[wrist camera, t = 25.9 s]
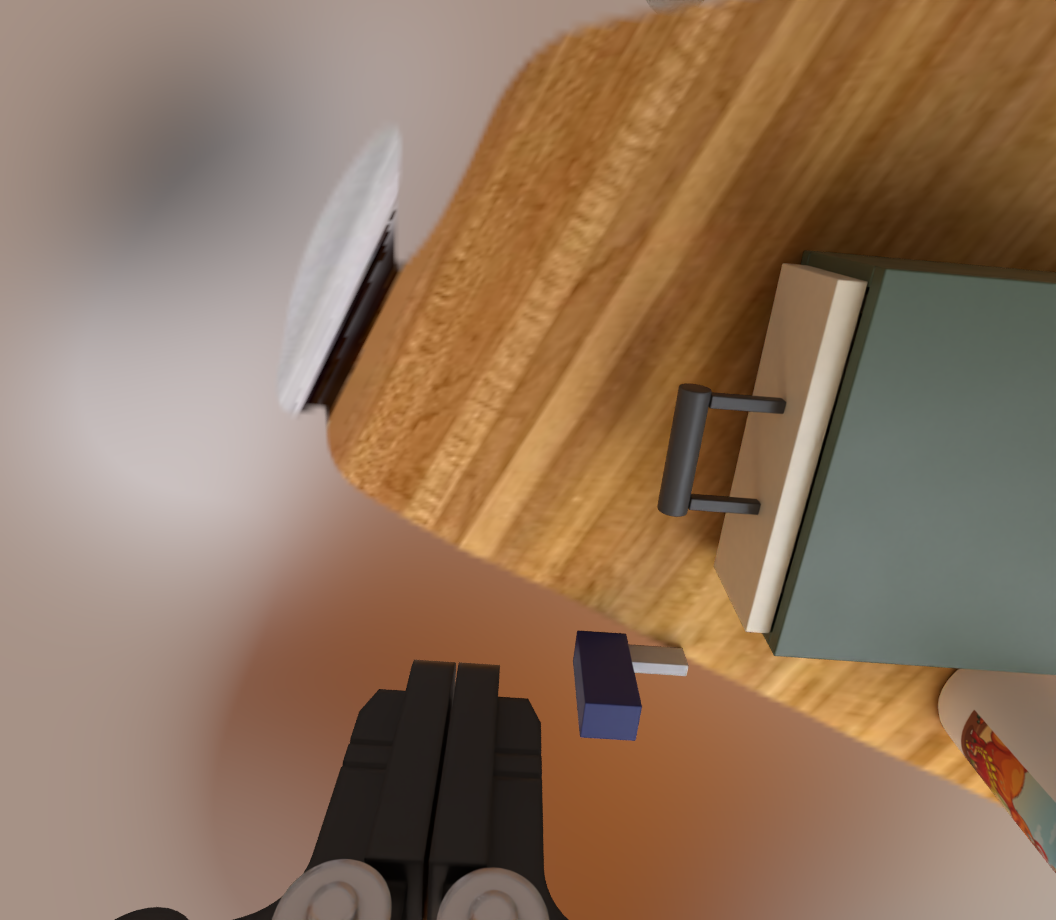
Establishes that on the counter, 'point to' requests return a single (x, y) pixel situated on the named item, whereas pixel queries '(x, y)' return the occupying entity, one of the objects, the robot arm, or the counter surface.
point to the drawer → (771, 437)
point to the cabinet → (934, 477)
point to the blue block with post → (616, 681)
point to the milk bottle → (1009, 743)
